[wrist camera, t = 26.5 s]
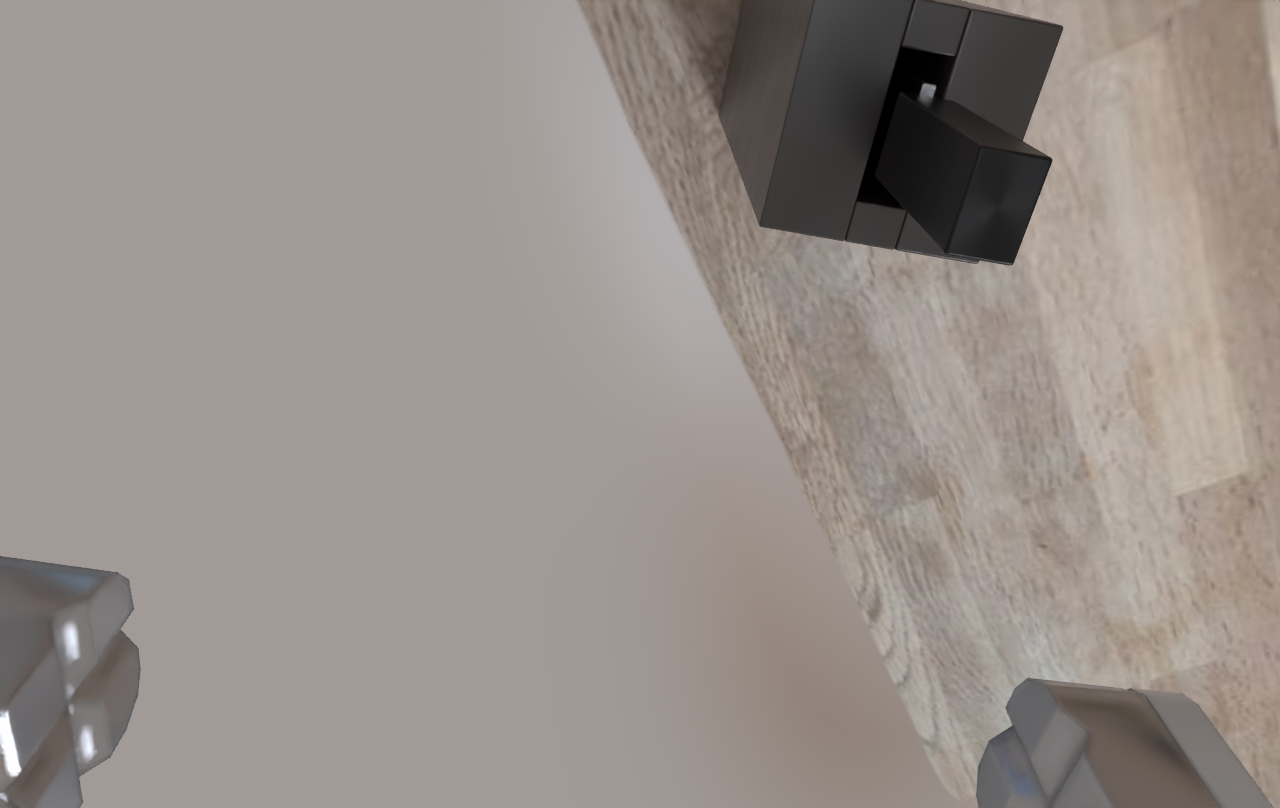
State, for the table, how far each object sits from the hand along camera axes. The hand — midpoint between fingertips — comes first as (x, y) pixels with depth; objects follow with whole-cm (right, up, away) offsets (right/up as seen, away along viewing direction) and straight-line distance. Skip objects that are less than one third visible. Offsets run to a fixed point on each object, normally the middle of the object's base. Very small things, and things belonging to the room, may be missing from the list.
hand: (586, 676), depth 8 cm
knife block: (+8, +19, +34) cm, 40 cm away
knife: (+8, +18, +33) cm, 39 cm away
